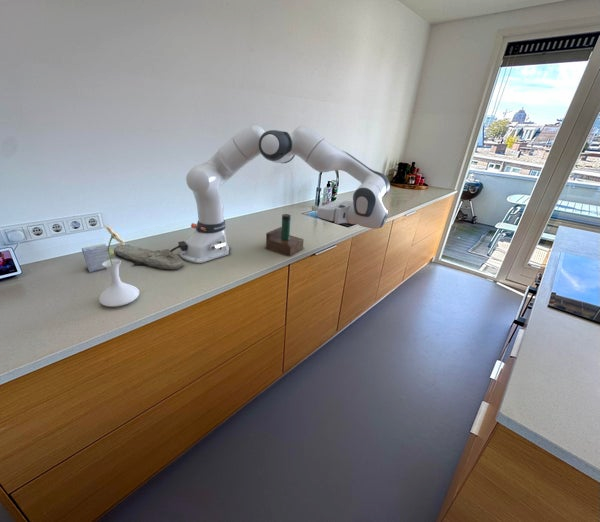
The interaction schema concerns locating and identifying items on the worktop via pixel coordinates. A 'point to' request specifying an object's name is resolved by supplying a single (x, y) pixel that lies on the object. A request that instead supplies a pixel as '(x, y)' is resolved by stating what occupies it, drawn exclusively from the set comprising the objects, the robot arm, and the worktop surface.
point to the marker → (285, 227)
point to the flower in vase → (116, 280)
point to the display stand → (283, 243)
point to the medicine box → (95, 256)
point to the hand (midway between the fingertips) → (317, 205)
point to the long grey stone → (150, 256)
